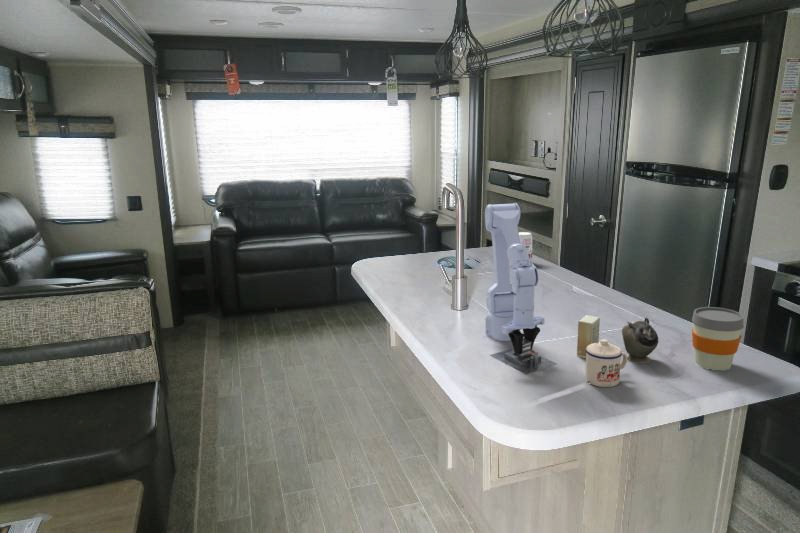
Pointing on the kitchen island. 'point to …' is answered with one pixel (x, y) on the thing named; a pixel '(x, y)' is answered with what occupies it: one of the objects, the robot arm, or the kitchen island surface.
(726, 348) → the reusable coffee cup
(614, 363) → the teacup with lid
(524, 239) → the supplement can
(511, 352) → the stand base
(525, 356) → the grey ribbed block
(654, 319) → the kitchen island surface
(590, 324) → the skincare box
